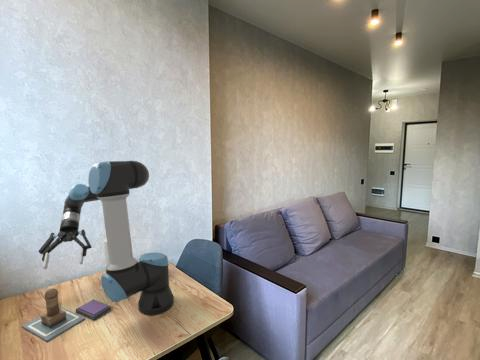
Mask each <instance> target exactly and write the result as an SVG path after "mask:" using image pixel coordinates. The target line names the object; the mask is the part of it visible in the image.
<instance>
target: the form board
mask: <svg viewBox="0 0 480 360" xmlns="http://www.w3.org/2000/svg"><path fill="white" fill-rule="evenodd" d="M59 308H60V309H62V310H64V311H66V320H64V321H62V322H61V323H59V324H57V325H55V326H53V327H52V328H49V327H47V326H45V325H43V324H42V321H41V315H39V316H38V317H36V318H34V319H32V320H30V321H28V322H26V323H24V324H22V325H21V327H22V328H23V329H24V330H25V331H28V332H30V333H32V334H33V335H35V336H37V337H38V338H40V339H41V340H43V341H44V342H47V343H48V342H49V341H51V340H53V339H55V338H57V337H58V336H60V335H61V334H64V333H65V332H66V331H68V330H70V329H72V328H73V327H75V326H76V325H78V324H80V323H82V322H83V321H85V320H86V317H85V316H82V315H80V314H78V313H76V312H73V311H71V310H69V309H66V308H64V307H63V306H59Z"/></svg>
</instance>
